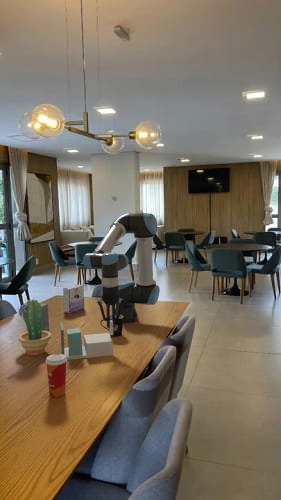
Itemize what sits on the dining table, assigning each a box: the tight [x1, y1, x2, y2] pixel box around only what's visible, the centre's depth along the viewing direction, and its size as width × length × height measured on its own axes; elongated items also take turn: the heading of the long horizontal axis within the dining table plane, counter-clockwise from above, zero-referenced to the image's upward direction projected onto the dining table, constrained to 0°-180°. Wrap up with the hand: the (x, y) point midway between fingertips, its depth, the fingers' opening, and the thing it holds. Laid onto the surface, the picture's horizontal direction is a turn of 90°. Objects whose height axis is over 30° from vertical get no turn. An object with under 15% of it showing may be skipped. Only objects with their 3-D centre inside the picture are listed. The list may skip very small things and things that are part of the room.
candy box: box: [62, 284, 85, 315], centre depth 252 cm, size 14×6×16 cm, turn 144°
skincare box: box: [40, 303, 50, 332], centre depth 207 cm, size 8×7×16 cm
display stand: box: [59, 321, 114, 361], centre depth 179 cm, size 23×12×14 cm, turn 104°
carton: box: [66, 327, 83, 355], centre depth 177 cm, size 10×7×6 cm
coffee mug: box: [100, 314, 124, 338], centre depth 204 cm, size 12×9×10 cm
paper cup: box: [45, 353, 68, 398], centre depth 140 cm, size 8×8×14 cm
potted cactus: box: [17, 299, 52, 356], centre depth 180 cm, size 15×15×25 cm
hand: (111, 334), depth 182 cm, fingers closed
